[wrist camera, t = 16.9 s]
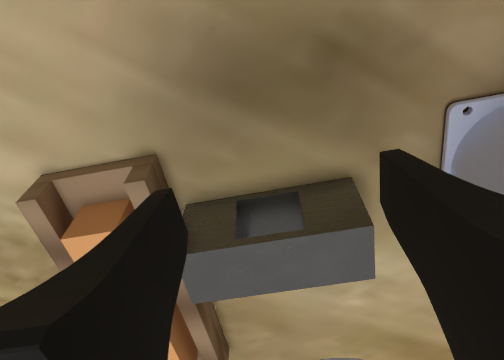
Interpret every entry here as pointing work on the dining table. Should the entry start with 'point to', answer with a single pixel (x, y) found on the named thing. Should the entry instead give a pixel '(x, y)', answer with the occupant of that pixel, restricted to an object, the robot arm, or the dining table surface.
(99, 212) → the shaft
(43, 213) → the tray
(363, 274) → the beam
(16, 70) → the dining table surface
